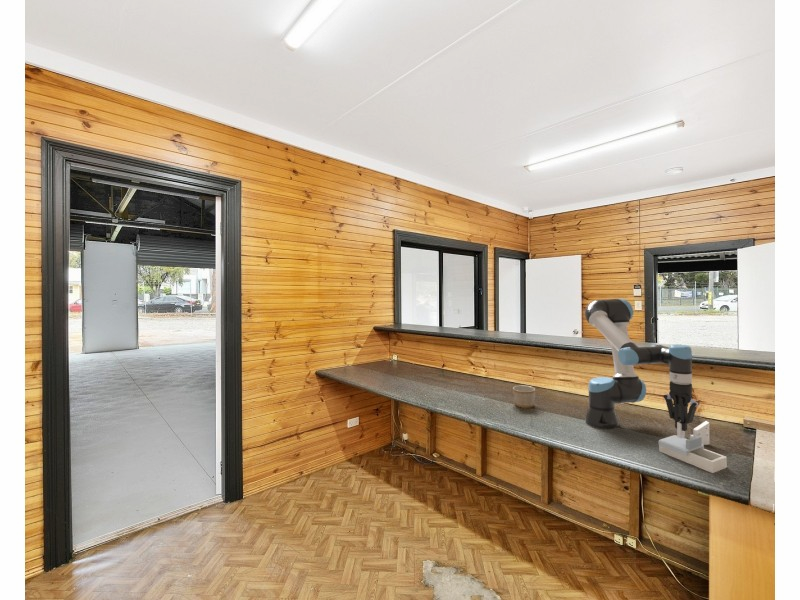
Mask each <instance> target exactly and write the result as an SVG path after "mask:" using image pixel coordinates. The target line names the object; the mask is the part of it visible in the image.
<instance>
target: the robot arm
mask: <svg viewBox="0 0 800 600" xmlns="http://www.w3.org/2000/svg"><path fill="white" fill-rule="evenodd" d="M584 317H585V320H586V321H587V322H588V324H589V325H590V326H592V327H594V328H596V330H597V331H599V332H600V334H601V335H603V337H604V338H605V339H606V340H607V341H608V342H609V343H610V347H611V353H612V360H613V367H614V374H613V375H612V378H611V377H609V376H605V377H604V376H597V377H594V378H591V379H590V380H589V381H588V387H587V388H588V409H587V412H586V415H585V423H586V424H587V425H588V424H589V426H590V425H591V426H590V427H593V426H594V427H593V428H596V427H597V429H601V428H602V429H603V430H613V429H617V428H618V427H620V426H619V425H620V424H619V422H620V421H619V418H618V417H617V414H616V410H615V404H625V403H627V404H628V403H629V404H630V403H631V404H633V403H639V402H642V401H643V400H644V399H645V398H646V396H647V387H646V383H645V382H644V381H643V379H640V377H639V374H637V373H636V372H635V368H634V366H637V365H650V364H651V365H652V364H654V365H655V364H663V365H667V366H669V370H668V372H669V393H668V394H664V395H663V399H664V401H665V404H666V407H667V411H668V415H669V418H670V419H672V420H673V421H674V427H675V429H676V435H677V437H678V438H686V431H687V430H688V424H692V423H693V422H694V418H695V414H696V410H697V408H698V407H699V405H700V404H701V403H700V402H699V401H696V400H695V399H694V397H693V384H692V383H693V355H692V347H691V346H689V345H686V344H671V345H669V346H665V345H662V344H652V345H650V346H638V345H637V344H636V343H635V342H633V341H632V339H630V338H629V331H628V326H629V324H630V320H632V319H633V317H634V309H633V306H632V304H631V302H630V301H628V300H626V299H624V298H610V299H595V300H593V301H591V302H589V303H588V304H587V306H586V307H585V310H584ZM688 408H689V409H688Z"/></svg>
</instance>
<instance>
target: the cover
mask: <svg viewBox="0 0 800 600" xmlns="http://www.w3.org/2000/svg"><path fill="white" fill-rule="evenodd" d="M659 445H660V446H662V447H665V448H667V449H670V450H672V451H675V452H677V453H680V454H683V455H685V456H687V452H690V451H693V450H696V449H699V448H704V449H705V445H702V437H700V436H697V437H694V438H691V439H690V438H686V437H684V438H678V437H677V434H673V435H670V436H666V437H664V438H661V439H659V440H658V446H659Z"/></svg>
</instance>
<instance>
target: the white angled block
mask: <svg viewBox="0 0 800 600" xmlns="http://www.w3.org/2000/svg"><path fill="white" fill-rule="evenodd" d="M692 431H693V432H692V433H693V434H689V439H691V438H694V437H697V436H700V437H702V445H704V446H705V445H706V446H708V445H710V422H709V421H707V420H705V421H703V422H701V423H700V424H699V425H697V426H696V427H694V428H693V430H692Z"/></svg>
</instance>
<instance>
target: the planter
mask: <svg viewBox="0 0 800 600" xmlns="http://www.w3.org/2000/svg"><path fill="white" fill-rule="evenodd" d="M512 391H513V398H514V405H515V406H516V407H518V408H520V407H521V409H531V408H533V407H534V405H535V398H536V397H535V396H536V388H535V387H533V386H530V385H525V384H524V385H515V386H513V387H512Z"/></svg>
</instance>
